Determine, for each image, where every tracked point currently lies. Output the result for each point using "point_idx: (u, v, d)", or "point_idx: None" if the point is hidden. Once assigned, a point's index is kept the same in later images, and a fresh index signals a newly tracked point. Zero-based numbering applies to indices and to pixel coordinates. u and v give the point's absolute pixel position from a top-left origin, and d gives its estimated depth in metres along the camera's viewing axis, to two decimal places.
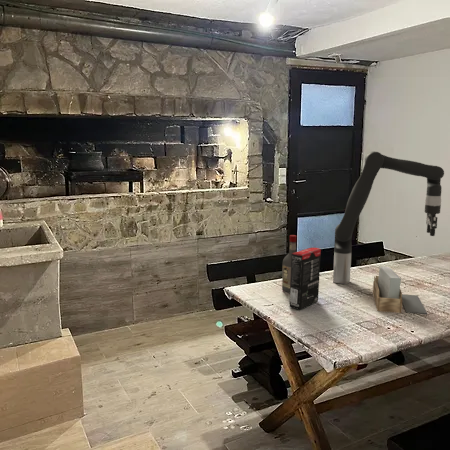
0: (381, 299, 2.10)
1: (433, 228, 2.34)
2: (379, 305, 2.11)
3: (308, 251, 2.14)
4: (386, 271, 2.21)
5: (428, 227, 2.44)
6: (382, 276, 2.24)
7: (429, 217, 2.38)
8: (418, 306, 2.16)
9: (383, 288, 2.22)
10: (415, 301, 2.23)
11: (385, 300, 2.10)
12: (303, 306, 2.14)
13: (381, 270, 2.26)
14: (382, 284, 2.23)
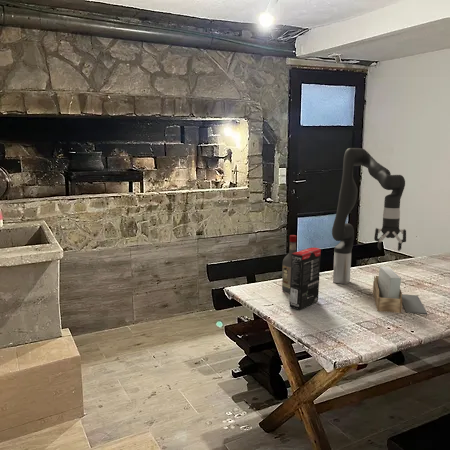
0: (381, 299, 2.10)
1: None
2: (379, 305, 2.11)
3: (308, 251, 2.14)
4: (386, 271, 2.21)
5: None
6: (382, 276, 2.24)
7: (394, 231, 2.15)
8: (418, 306, 2.16)
9: (383, 288, 2.22)
10: (415, 301, 2.23)
11: (385, 300, 2.10)
12: (303, 306, 2.14)
13: (381, 270, 2.26)
14: (382, 284, 2.23)
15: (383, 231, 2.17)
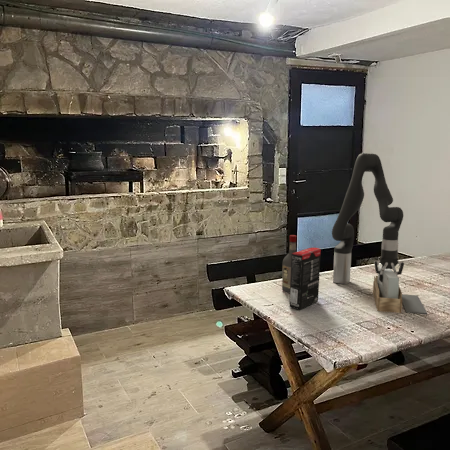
0: (381, 299, 2.10)
1: None
2: (379, 305, 2.11)
3: (308, 251, 2.14)
4: (384, 271, 2.21)
5: None
6: None
7: (393, 263, 2.17)
8: (418, 306, 2.16)
9: (382, 288, 2.22)
10: (415, 301, 2.23)
11: (385, 300, 2.10)
12: (303, 306, 2.14)
13: None
14: (381, 284, 2.23)
15: (381, 263, 2.19)
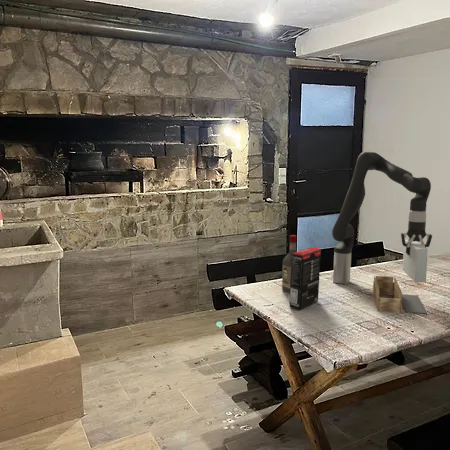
0: (381, 299, 2.10)
1: None
2: (379, 305, 2.11)
3: (308, 251, 2.14)
4: (411, 243, 2.15)
5: None
6: None
7: (421, 235, 2.12)
8: (418, 306, 2.16)
9: (409, 261, 2.16)
10: (415, 301, 2.23)
11: (385, 300, 2.10)
12: (303, 306, 2.14)
13: (406, 243, 2.21)
14: (408, 257, 2.18)
15: (409, 235, 2.14)
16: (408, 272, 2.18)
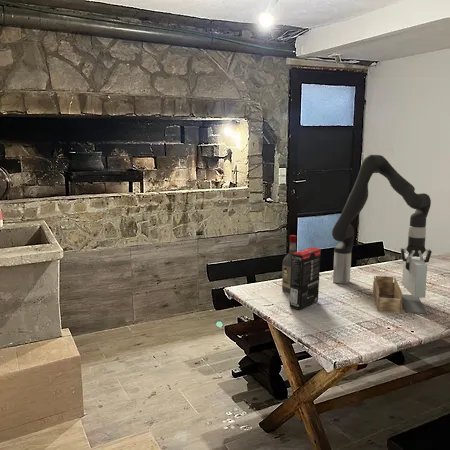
0: (381, 299, 2.10)
1: None
2: (379, 305, 2.11)
3: (308, 251, 2.14)
4: (411, 259, 2.17)
5: None
6: None
7: (420, 251, 2.14)
8: (418, 306, 2.16)
9: (408, 276, 2.18)
10: (415, 301, 2.23)
11: (385, 300, 2.10)
12: (303, 306, 2.14)
13: (406, 258, 2.23)
14: (407, 272, 2.19)
15: (408, 251, 2.15)
16: (407, 287, 2.19)
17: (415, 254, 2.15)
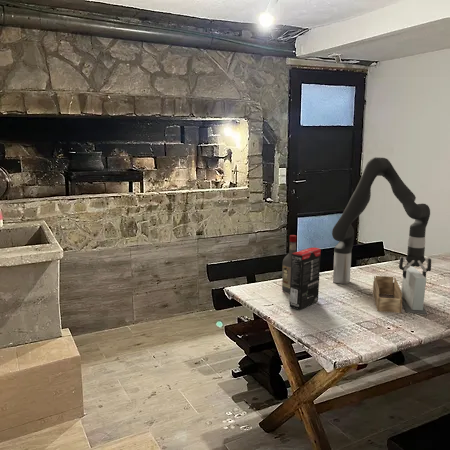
0: (381, 299, 2.10)
1: None
2: (379, 305, 2.11)
3: (308, 251, 2.14)
4: (411, 271, 2.18)
5: None
6: (406, 276, 2.21)
7: (420, 260, 2.14)
8: None
9: (407, 288, 2.19)
10: None
11: (385, 300, 2.10)
12: (303, 306, 2.14)
13: None
14: (406, 284, 2.21)
15: (408, 260, 2.16)
16: (406, 299, 2.21)
17: (414, 264, 2.16)
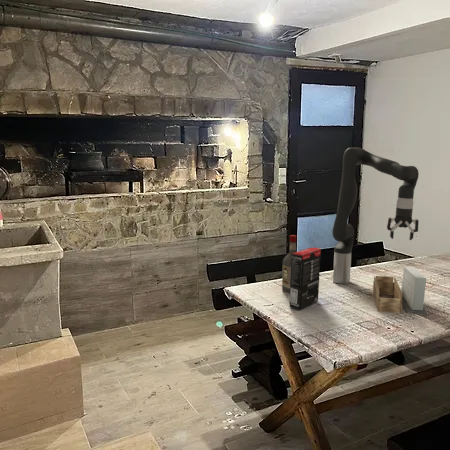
0: (381, 299, 2.10)
1: None
2: (379, 305, 2.11)
3: (308, 251, 2.14)
4: (411, 271, 2.18)
5: (393, 233, 2.24)
6: (406, 276, 2.21)
7: (407, 221, 2.21)
8: None
9: (407, 288, 2.19)
10: None
11: (385, 300, 2.10)
12: (303, 306, 2.14)
13: (405, 270, 2.24)
14: (406, 284, 2.21)
15: (396, 220, 2.22)
16: (406, 299, 2.21)
17: (401, 225, 2.22)
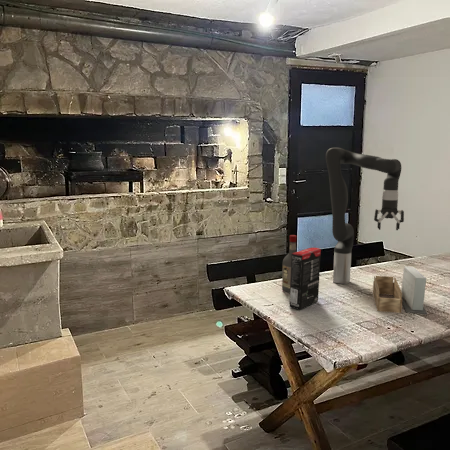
0: (381, 299, 2.10)
1: None
2: (379, 305, 2.11)
3: (308, 251, 2.14)
4: (411, 271, 2.18)
5: (380, 224, 2.34)
6: (406, 276, 2.21)
7: (393, 212, 2.31)
8: None
9: (407, 288, 2.19)
10: None
11: (385, 300, 2.10)
12: (303, 306, 2.14)
13: (405, 270, 2.24)
14: (406, 284, 2.21)
15: (382, 212, 2.32)
16: (406, 299, 2.21)
17: (387, 216, 2.32)
